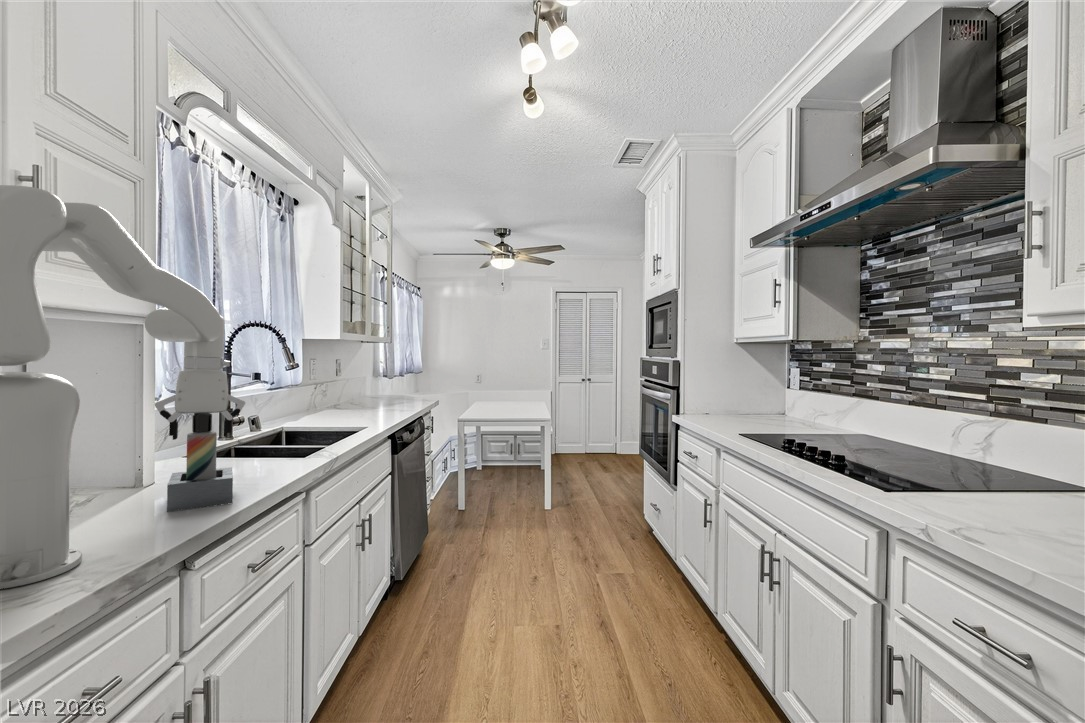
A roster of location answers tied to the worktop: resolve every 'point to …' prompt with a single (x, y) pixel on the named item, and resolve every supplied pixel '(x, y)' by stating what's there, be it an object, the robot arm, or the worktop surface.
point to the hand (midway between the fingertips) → (200, 437)
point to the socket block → (199, 490)
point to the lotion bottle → (201, 448)
